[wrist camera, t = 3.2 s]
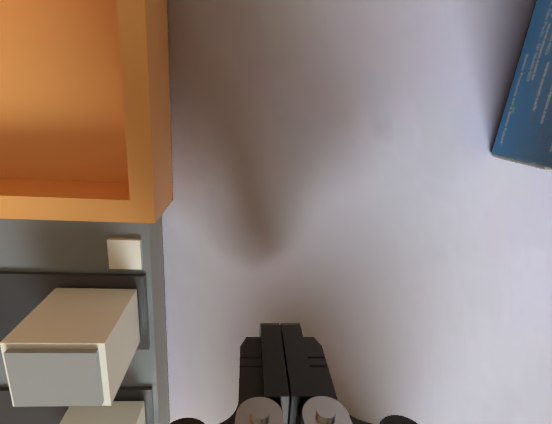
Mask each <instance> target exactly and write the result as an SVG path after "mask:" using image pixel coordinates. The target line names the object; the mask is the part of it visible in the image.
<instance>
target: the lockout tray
mask: <svg viewBox="0 0 552 424" xmlns="http://www.w3.org/2000/svg"><path fill="white" fill-rule="evenodd" d="M172 200H173V184H172V150H171V115H170V81H169V47H168V13H167V0H0V218H2V219H33V220H64V221H95V222H126V223H156V222H157V220H158V219H159V218H160V216H161V215H162V214H163V212H164V211H165V210H166V208H167V207H168V206H169V204H170V203H171V202H172Z"/></svg>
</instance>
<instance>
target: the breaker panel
mask: <svg viewBox="0 0 552 424" xmlns="http://www.w3.org/2000/svg"><path fill="white" fill-rule="evenodd" d="M55 288H96V289H137V301H138V316H139V331H140V343H139V345H138V347H137V349H136V351H135V354H134V356H133V358H132V360H131V362H130V365H129V367H128V369H127V371H126V374H125V376H124V378H123V380H122V382H121V385H120V387H119V389H118V391H117V393H116V396H115V398H114V400H113V401H144V406H145V421H146V424H169V422H170V412H169V387H168V362H167V337H166V312H165V287H164V262H163V237H162V215H161V216H160V218H159V219H158V220H157V222H156V223H126V222H95V221H64V220H33V219H2V218H0V342H1V341H2V340H3V339H4V338H5V337H6V336H7V335H8V334H9V333H10V332H11V331H12V330H13V329H14V328H15V327H16V326H17V325H18V324H19V323H20V322H21V321H22V320H23V319H24V318H26V317H27V316H28V315H29V314H30V313H31V312H32V311H33V310H34V309H35V308H36V307H37V306H38V305H39V304H40V303H41V302H42V301H43V300H44V299H45V298H46V297H47V296H48V295H49V294H50V293H51V292H52V291H53V290H54V289H55ZM68 408H69V406H36V407H15V406H14V407H13V404H12V399H11V395H10V390H9V385H8V380H7V376H6V371H5V366H4V361H3V357H2V352H1V347H0V424H59V423H60V422H61V420H62V418H63V417H64V415H65V413H66V411H67V410H68Z"/></svg>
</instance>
